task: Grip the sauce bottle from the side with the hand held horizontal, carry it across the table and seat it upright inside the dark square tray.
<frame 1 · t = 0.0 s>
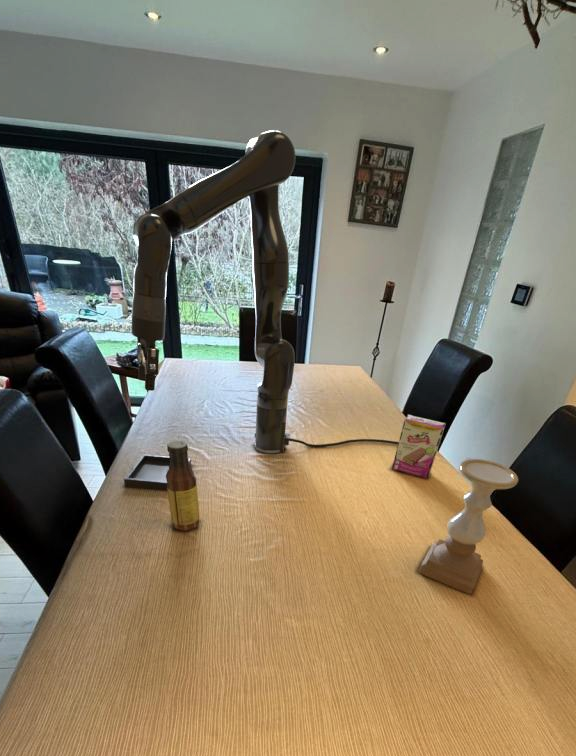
hand: (146, 384, 106), 22 cm above the table, tool pointing down, fingers open, 8 cm apart
sauce bottle: (185, 524, 95), on the table
dark square tray: (159, 475, 112), on the table
candy bar box: (410, 472, 127), on the table
candle holder: (450, 570, 89), on the table
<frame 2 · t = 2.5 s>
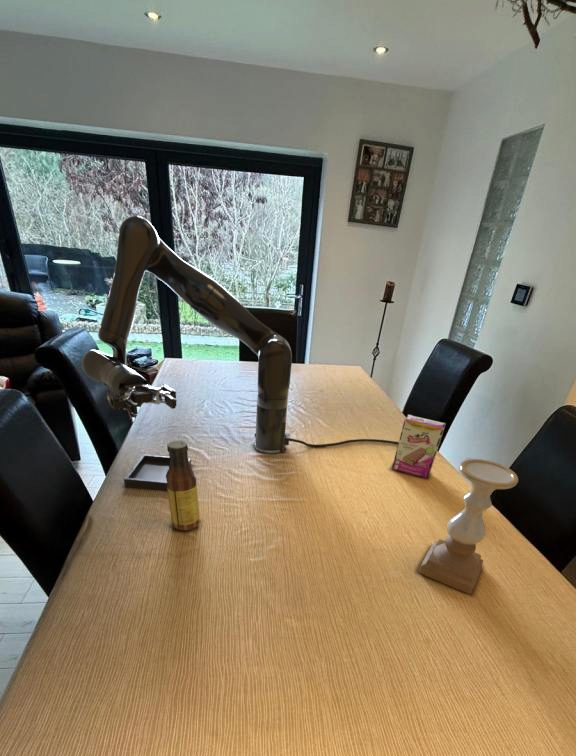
hand: (155, 407, 89), 24 cm above the table, tool horizontal, fingers open, 8 cm apart
nothing on the table moved.
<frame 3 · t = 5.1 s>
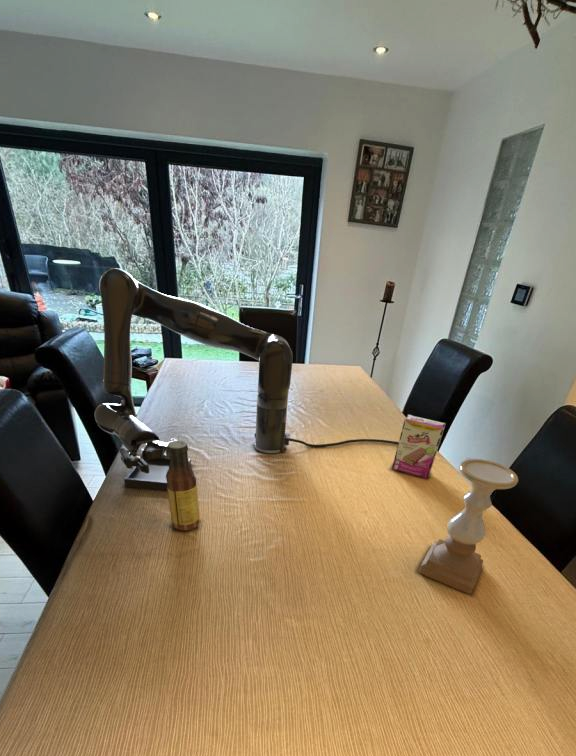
hand: (165, 465, 94), 11 cm above the table, tool horizontal, fingers open, 8 cm apart
nothing on the table moved.
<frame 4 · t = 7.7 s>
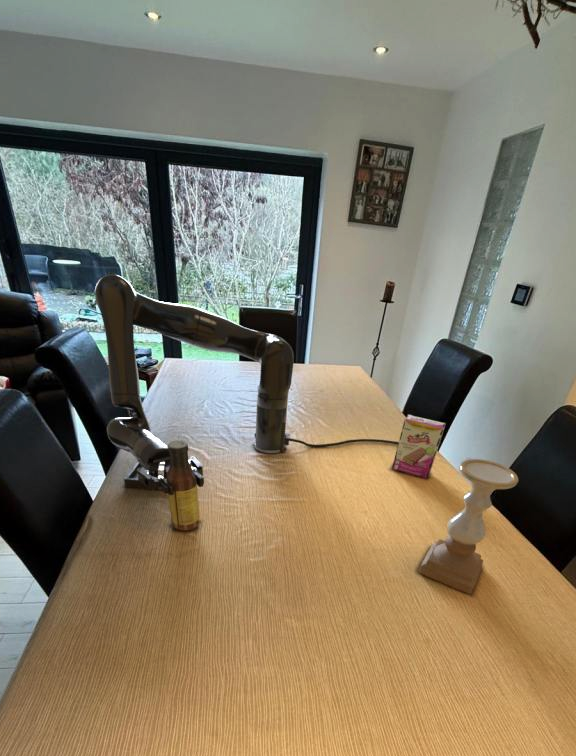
hand: (187, 486, 87), 11 cm above the table, tool horizontal, fingers closed on sauce bottle, 6 cm apart
sauce bottle: (185, 524, 95), on the table, touching gripper
everything else where it was.
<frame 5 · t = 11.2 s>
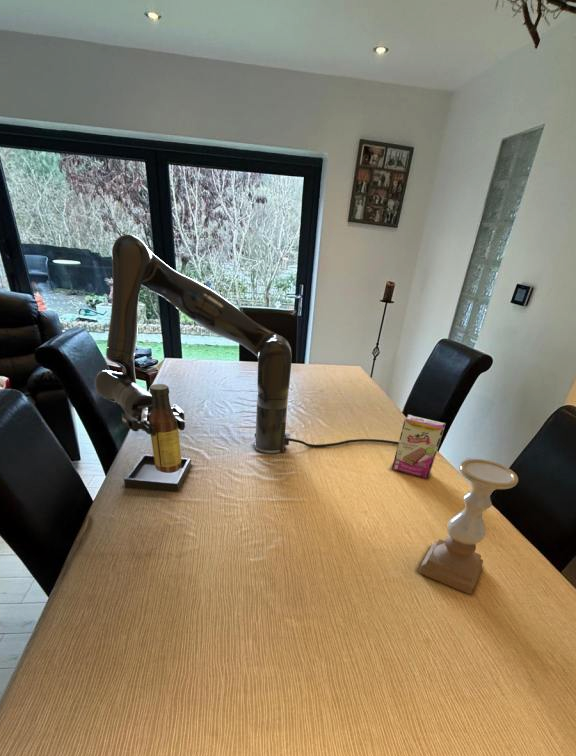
hand: (168, 428, 93), 19 cm above the table, tool horizontal, fingers closed on sauce bottle, 6 cm apart
sauce bottle: (168, 468, 101), point 7 cm above the table, touching gripper
everything else where it was.
when the fingers open (12 cm above the table, at t = 15.0 s): sauce bottle stays where it is, resting on dark square tray.
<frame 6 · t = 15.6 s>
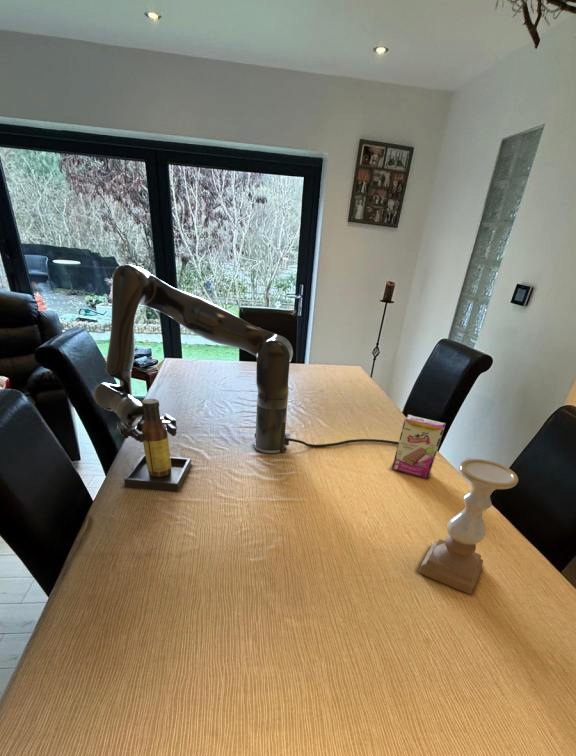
hand: (158, 435, 104), 12 cm above the table, tool horizontal, fingers open, 8 cm apart
sauce bottle: (159, 473, 112), point 1 cm above the table, touching dark square tray
everything else where it was.
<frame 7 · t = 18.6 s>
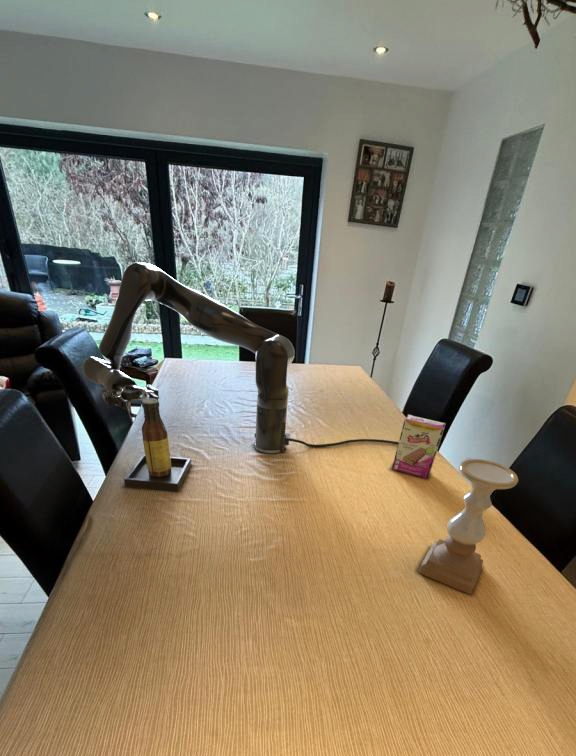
hand: (141, 402, 111), 16 cm above the table, tool horizontal, fingers open, 8 cm apart
nothing on the table moved.
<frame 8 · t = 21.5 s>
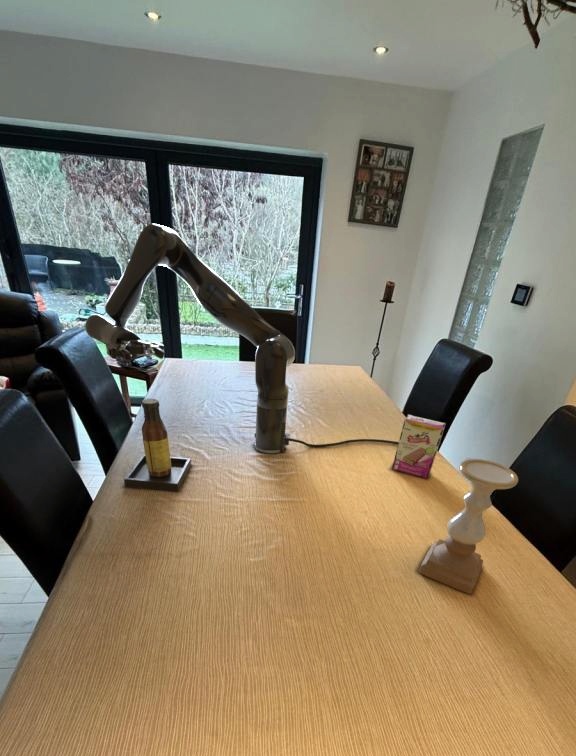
hand: (146, 356, 107), 28 cm above the table, tool horizontal, fingers open, 8 cm apart
nothing on the table moved.
at the end: sauce bottle inside the target area in the dark square tray (0.1 cm from its centre), point 0.6 cm above the dark square tray's base; sauce bottle tilted 0° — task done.
